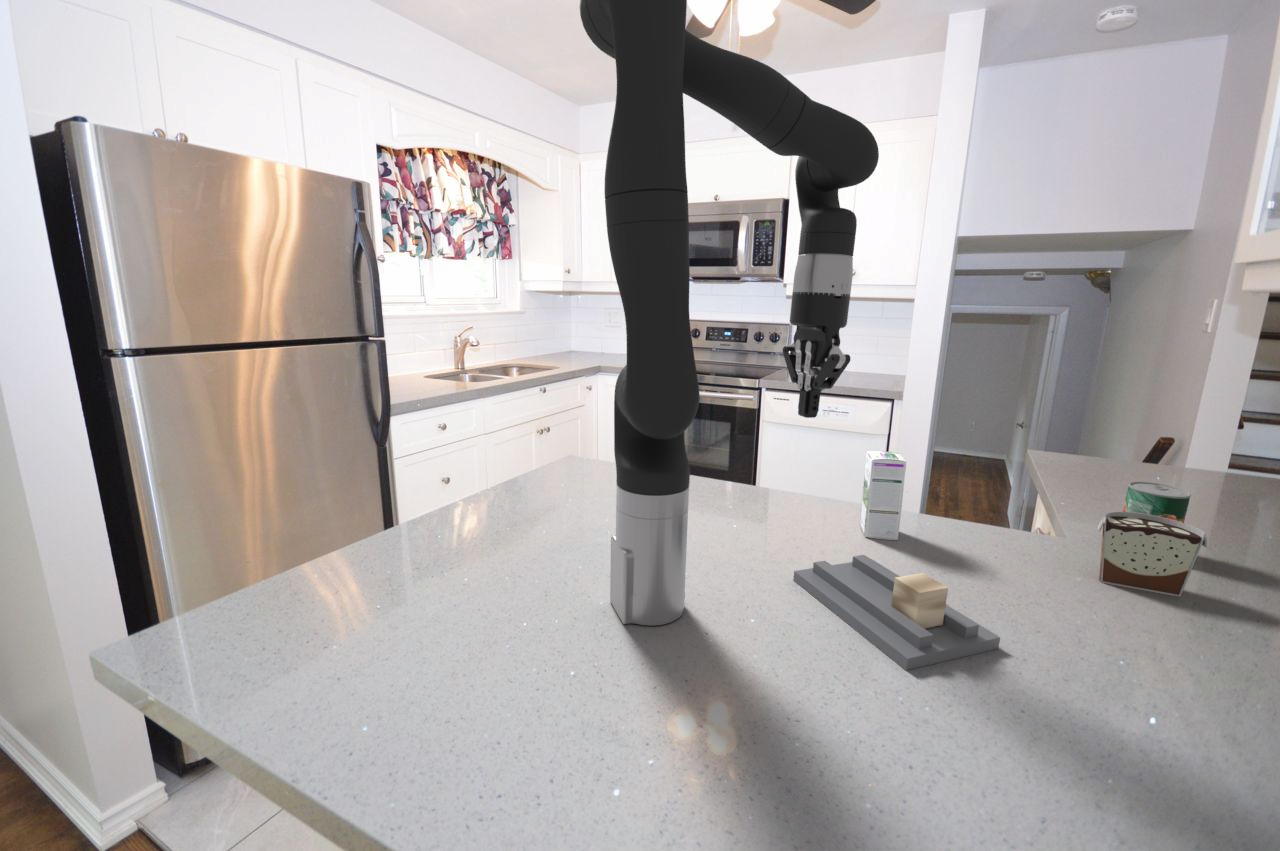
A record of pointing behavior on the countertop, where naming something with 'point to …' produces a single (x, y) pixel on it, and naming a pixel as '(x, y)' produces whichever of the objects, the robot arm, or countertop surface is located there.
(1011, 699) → the countertop surface
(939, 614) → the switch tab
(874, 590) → the grey rail board
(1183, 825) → the countertop surface
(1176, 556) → the food container
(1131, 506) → the canned tomato
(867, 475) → the syrup box
